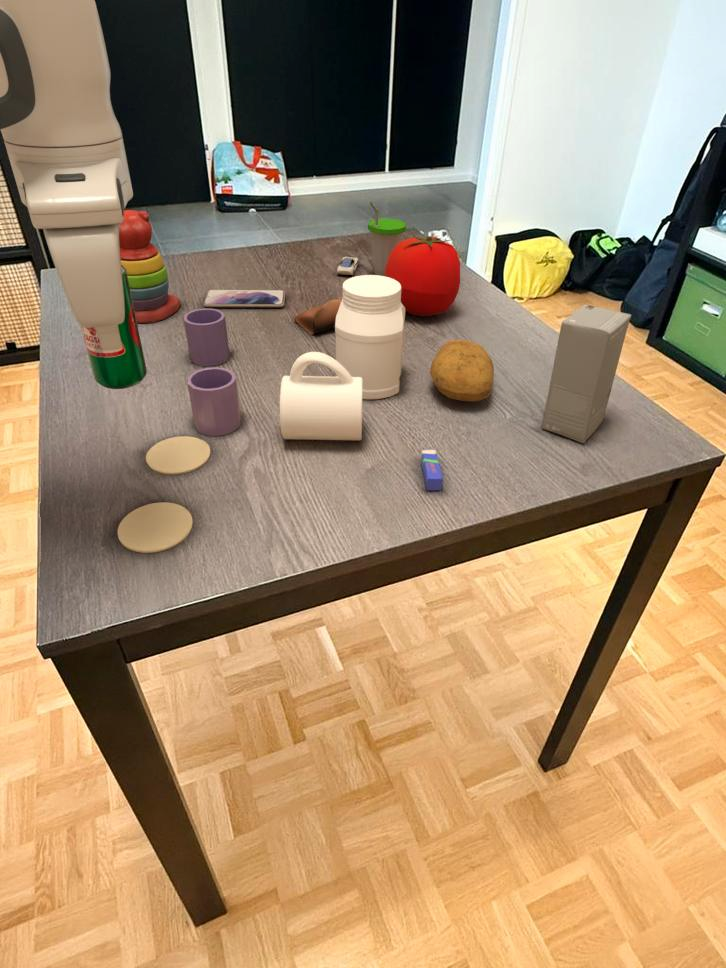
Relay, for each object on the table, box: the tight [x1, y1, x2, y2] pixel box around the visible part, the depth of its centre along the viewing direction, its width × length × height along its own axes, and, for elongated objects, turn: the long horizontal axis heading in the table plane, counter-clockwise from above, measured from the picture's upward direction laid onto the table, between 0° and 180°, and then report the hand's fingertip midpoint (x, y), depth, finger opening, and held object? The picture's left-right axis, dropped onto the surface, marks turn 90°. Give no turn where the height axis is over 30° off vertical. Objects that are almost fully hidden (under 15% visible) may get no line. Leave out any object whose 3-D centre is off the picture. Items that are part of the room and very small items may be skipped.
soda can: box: [80, 265, 148, 390], centre depth 60 cm, size 5×5×12 cm
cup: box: [367, 201, 407, 276], centre depth 127 cm, size 8×8×15 cm
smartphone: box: [203, 289, 286, 309], centre depth 119 cm, size 7×1×15 cm
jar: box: [334, 274, 406, 400], centre depth 91 cm, size 12×10×15 cm
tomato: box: [385, 235, 461, 317], centre depth 114 cm, size 16×14×14 cm
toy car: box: [336, 256, 360, 277], centre depth 134 cm, size 4×12×3 cm, turn 171°
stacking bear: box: [119, 209, 181, 324], centre depth 108 cm, size 11×10×18 cm
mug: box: [279, 351, 363, 441], centre depth 80 cm, size 8×10×12 cm
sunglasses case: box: [294, 296, 343, 336], centre depth 113 cm, size 18×7×7 cm, turn 126°
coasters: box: [117, 435, 212, 554], centre depth 74 cm, size 12×21×1 cm, turn 20°
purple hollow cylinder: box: [183, 307, 230, 367], centre depth 99 cm, size 6×6×7 cm
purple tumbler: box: [186, 366, 242, 437], centre depth 83 cm, size 6×6×7 cm
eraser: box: [420, 449, 444, 491], centre depth 77 cm, size 2×6×2 cm, turn 2°
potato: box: [429, 339, 495, 402], centre depth 92 cm, size 9×13×7 cm
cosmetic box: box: [541, 304, 632, 444], centre depth 83 cm, size 8×7×16 cm
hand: (110, 332), depth 60 cm, fingers closed on soda can, 5 cm apart
